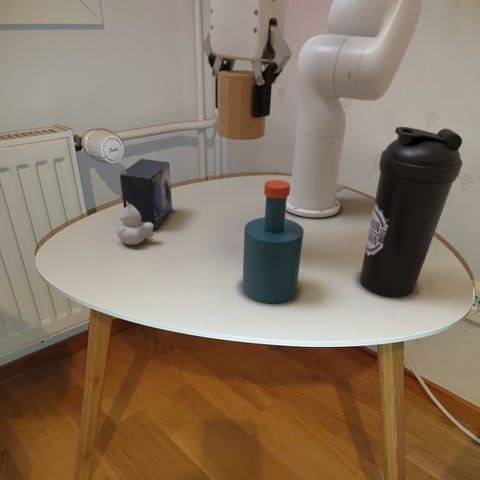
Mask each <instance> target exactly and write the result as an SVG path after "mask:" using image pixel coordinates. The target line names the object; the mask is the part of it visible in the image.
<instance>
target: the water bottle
mask: <svg viewBox="0 0 480 480" xmlns="http://www.w3.org/2000/svg"><path fill="white" fill-rule="evenodd" d="M394 132H395V134H396V135H397V138H396V139H394V140H393V141H391V142H390V143H389V144H388V145H387V146H386V149H384V150H383V151H382V152H381V155H380V160H379V171H380V172H379V177H378V183H377V188H376V193H375V199H374V202H373V207H372V213H371V218H370V223H369V228H368V234H367V239H366V244H365V249H364V255H363V260H362V265H361V271H360V276H359V282H360V284H361V285H362V287H363V288H364V289H365V290H366V291H368V292H370V293H372V294H374V295H377V296H379V297H384V298H390V299H391V298H392V299H396V298H398V299H400V298H405V297H408V296H410V295H412V294H413V293H414V291H415V288H416V285H417V283H418V280H419V278H420V275H421V272H422V268H423V266H424V263H425V260H426V258H427V255H428V252H429V250H430V246H431V244H432V242H433V238H434V236H435V232H436V230H437V227H438V225H439V221H440V219H441V217H442V213H443V211H444V208H445V206H446V203H447V199H448V197H449V195H450V192H451V188H452V186H453V183H454V182H455V181H456V180H457V178H458V177H459V175H460V172H461V169H462V166H463V160H462V159H461V153H460V151H459V150H460V148H461V146H462V144H463V140H462V136H460V134H458V133H456V132H455V131H453V130H452V129H450V128H441V129H440V130H439V131H437V133H435V132H430V131H426V130H423V129H419V128H414V127H409V126H408V127H407V126H398V127H395V131H394Z"/></svg>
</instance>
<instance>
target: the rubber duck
mask: <svg viewBox="0 0 480 480" xmlns="http://www.w3.org/2000/svg"><path fill="white" fill-rule="evenodd" d="M126 204H127V207H125V208H124V207H123V210H122V213H121V214H120V215H119V217H118V218H119V219H120V220H121V224H120V225H119V226H118V227H117V230H116V233H117V236H118V239H120V241H121V242H122V243H124V244H126V245H129V246H134V245H135V246H136V245H139V244H141V243H143V242H144V241H145V239H151V238H153V237H154V230H153V228H154V225H153V224H152V223H149V222H146V223H142V222H141V221H140V220H141V215H140V213H139V211H138V210H137V209H136V208H135V207H134V206H133V205H132V204H129V203H128V202H127V201H126Z"/></svg>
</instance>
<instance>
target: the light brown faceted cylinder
mask: <svg viewBox="0 0 480 480" xmlns="http://www.w3.org/2000/svg"><path fill="white" fill-rule="evenodd" d="M256 84H257V83H256V79H255V75H254V71H253V70H245V69H244V70H242V69H233V70H226V71H220V72H218V109H217V134H218V135H219V137H221V138H225V139H228V140H237V141H252V140H258V139H262V138H263V137H264V136H265V132H266V131H265V130H266V116H264V117H258V118H254V117H252V115H251V106H252V87H253V85H256Z"/></svg>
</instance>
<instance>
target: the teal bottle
mask: <svg viewBox="0 0 480 480" xmlns="http://www.w3.org/2000/svg"><path fill="white" fill-rule="evenodd" d="M290 192H291V182H288V181H286V180H282V179H271V180H267V181H266V182H264V192H263V194H264V196H265V211H264V217H258V218H254V219H252V220H250V221H248V222H247V223H246V224H245V226H244V229H243V230H244V233H243V262H242V291H243V293H244V294H245V296H246V297H248V298H249V299H251V300H253V301H256V302H259V303H264V304H280V303H285V302H288V301H289V300H291V299H293V298H294V296H296V294H297V288H298V282H299V281H298V280H299V272H300V265H301V256H302V249H303V241H304V240H303V239H304V233H305V232H304V231H305V230H304V228H303V226H302V225H301V224H299V223H298V222H296V221H294V220H291V219H288V218H286V212H287V210H286V202H287V197H288V196H289V194H290Z"/></svg>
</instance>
